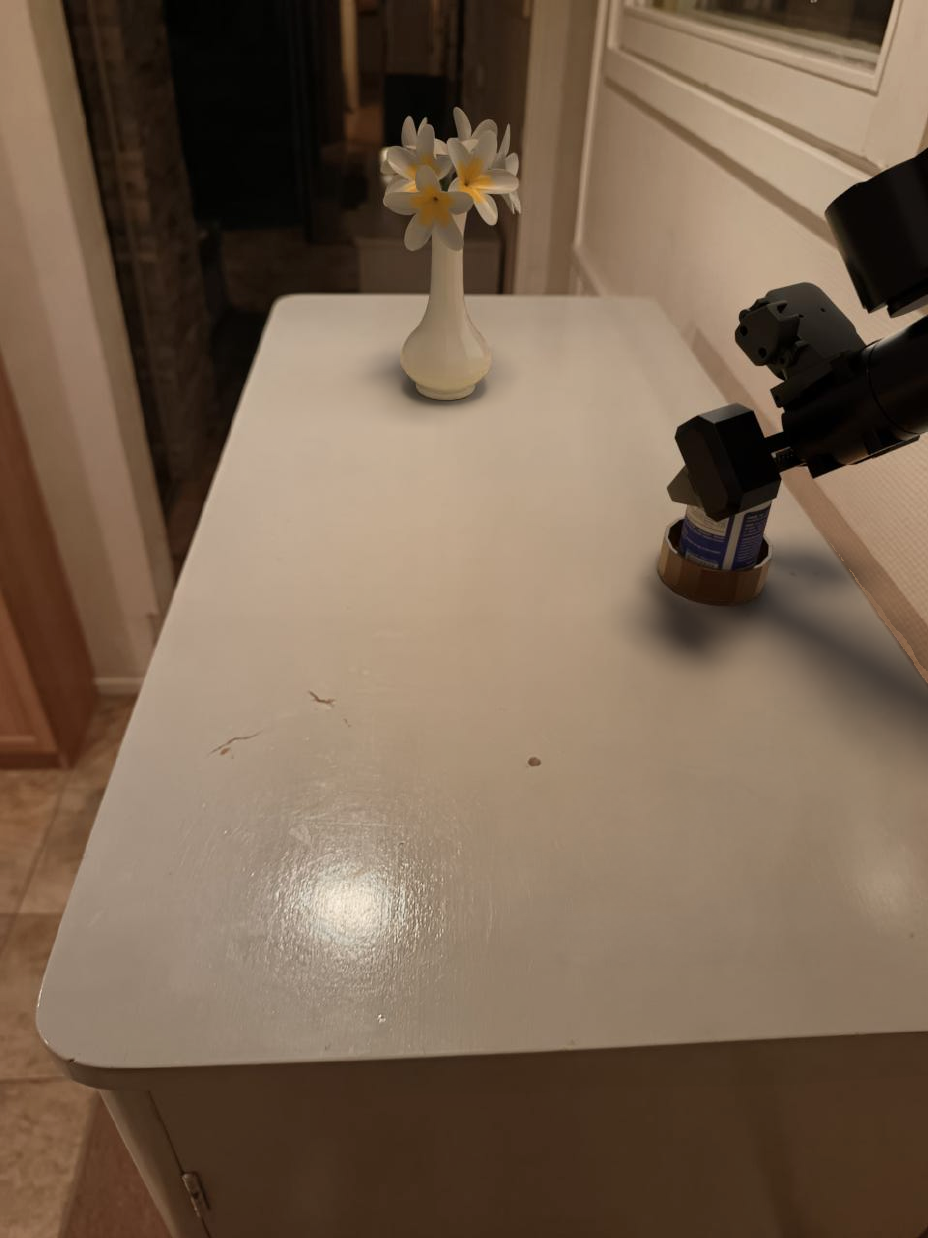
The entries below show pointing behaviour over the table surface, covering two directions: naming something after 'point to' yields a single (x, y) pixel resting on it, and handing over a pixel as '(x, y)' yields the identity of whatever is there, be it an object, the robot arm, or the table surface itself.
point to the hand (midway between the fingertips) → (716, 476)
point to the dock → (710, 573)
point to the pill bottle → (724, 537)
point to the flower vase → (447, 242)
